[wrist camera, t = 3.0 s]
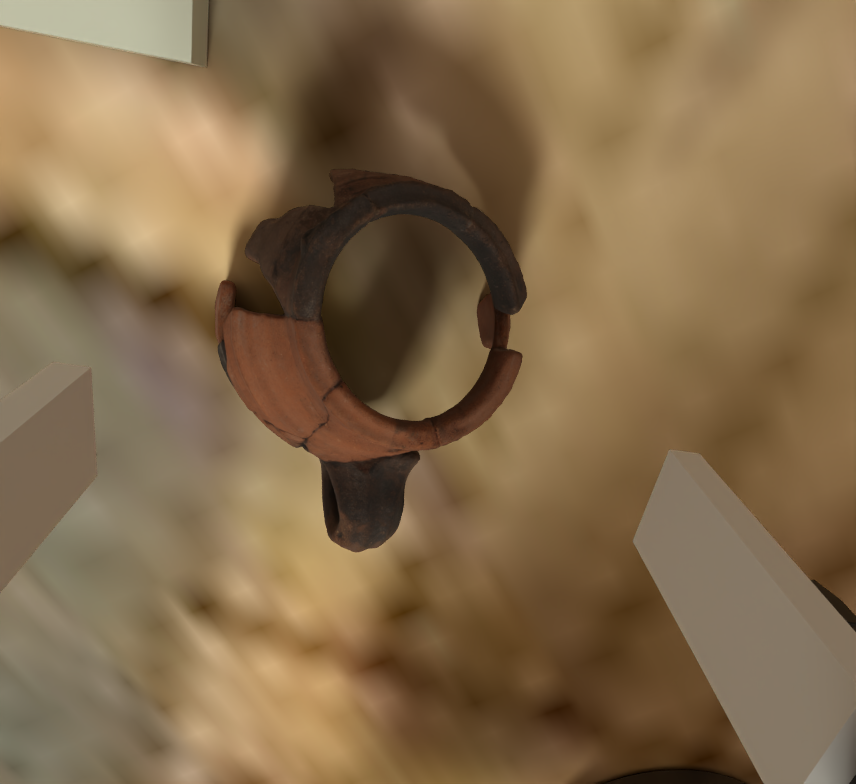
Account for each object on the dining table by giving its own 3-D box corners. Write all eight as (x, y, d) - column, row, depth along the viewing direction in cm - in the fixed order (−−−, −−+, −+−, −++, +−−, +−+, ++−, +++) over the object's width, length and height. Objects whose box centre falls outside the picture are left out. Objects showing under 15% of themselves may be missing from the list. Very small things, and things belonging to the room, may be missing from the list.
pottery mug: (181, 201, 20) (224, 138, 13) (424, 202, 25) (557, 154, 18) (226, 534, 22) (286, 637, 15) (445, 481, 27) (572, 541, 20)
